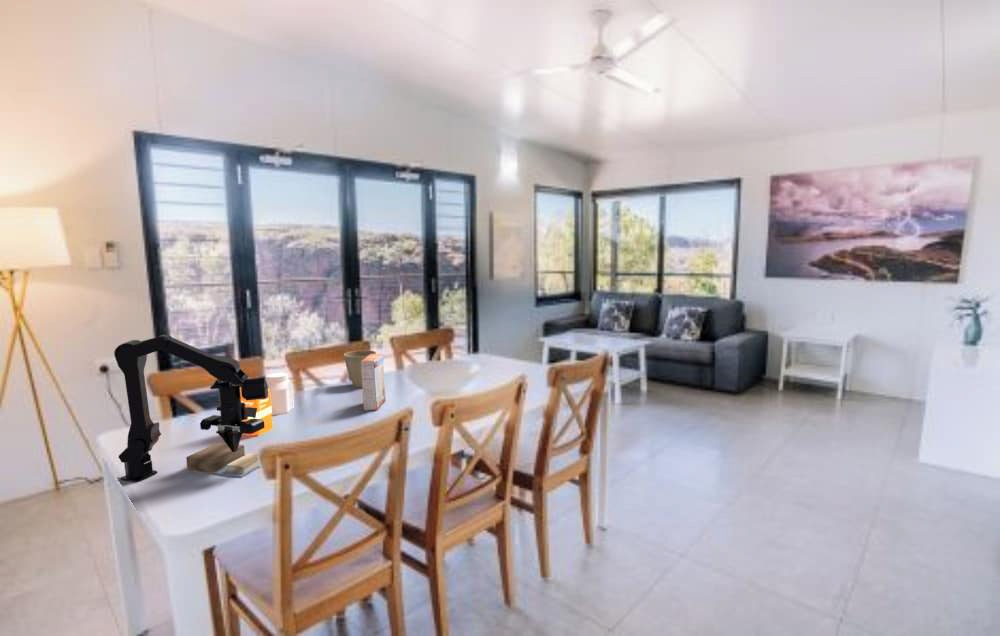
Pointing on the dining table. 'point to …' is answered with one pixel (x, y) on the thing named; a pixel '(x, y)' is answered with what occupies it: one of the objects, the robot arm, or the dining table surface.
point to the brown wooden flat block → (213, 458)
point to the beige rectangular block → (243, 463)
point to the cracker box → (373, 381)
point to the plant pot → (356, 365)
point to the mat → (234, 474)
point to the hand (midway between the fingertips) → (234, 451)
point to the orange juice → (260, 412)
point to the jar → (280, 393)
